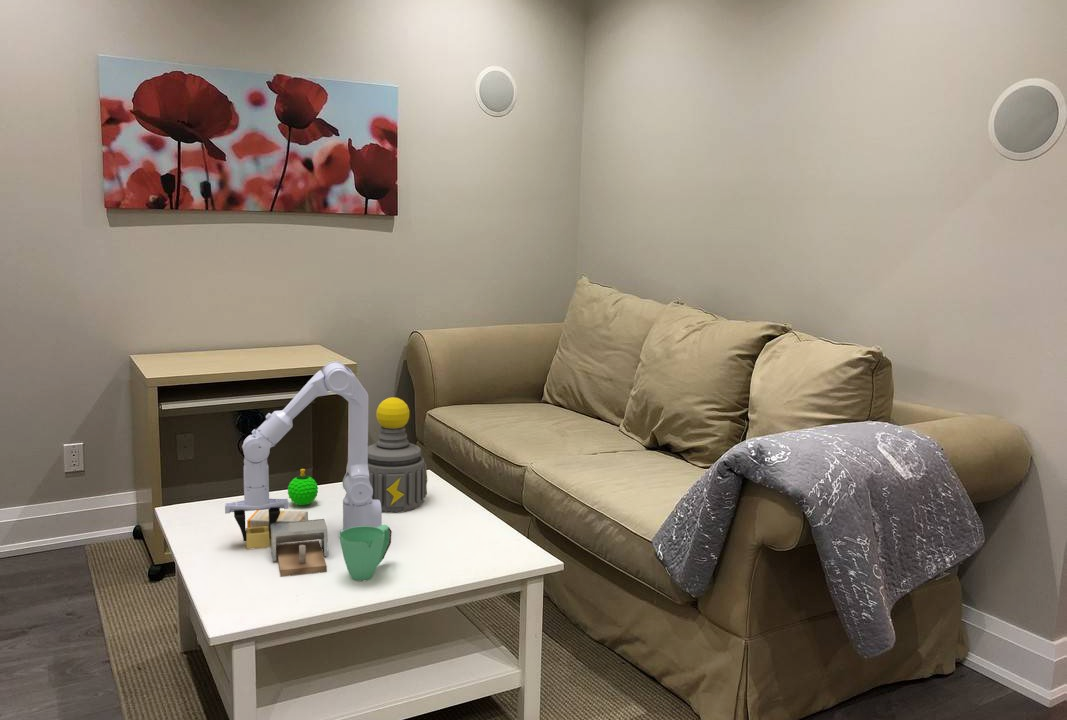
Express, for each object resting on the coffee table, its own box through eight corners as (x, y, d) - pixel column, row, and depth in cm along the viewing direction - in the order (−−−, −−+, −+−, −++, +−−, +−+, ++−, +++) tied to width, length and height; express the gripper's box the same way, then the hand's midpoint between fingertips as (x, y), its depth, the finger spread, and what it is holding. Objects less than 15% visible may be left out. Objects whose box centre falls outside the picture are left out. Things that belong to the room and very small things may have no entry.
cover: (324, 545, 214) (324, 518, 213) (327, 556, 208) (327, 528, 207) (271, 550, 210) (270, 523, 209) (272, 561, 204) (272, 533, 203)
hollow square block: (268, 539, 218) (268, 525, 217) (269, 547, 213) (269, 533, 212) (246, 541, 216) (245, 527, 215) (246, 549, 211) (246, 535, 211)
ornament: (292, 499, 248) (291, 465, 246) (321, 500, 248) (321, 465, 246) (284, 509, 240) (283, 473, 238) (314, 510, 240) (313, 474, 238)
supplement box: (246, 538, 218) (300, 540, 218) (246, 519, 217) (299, 521, 217) (257, 526, 226) (308, 528, 226) (257, 508, 225) (308, 510, 225)
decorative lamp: (360, 515, 237) (360, 405, 232) (356, 493, 255) (356, 391, 250) (430, 511, 241) (431, 404, 237) (421, 490, 259) (423, 390, 255)
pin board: (319, 546, 214) (318, 524, 214) (326, 571, 200) (326, 548, 199) (276, 550, 211) (275, 528, 210) (280, 576, 196) (280, 553, 195)
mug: (366, 589, 191) (366, 545, 190) (330, 579, 196) (330, 536, 194) (405, 566, 204) (406, 524, 202) (371, 557, 208) (371, 517, 207)
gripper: (286, 477, 218) (287, 530, 220) (224, 481, 213) (225, 535, 216) (288, 486, 212) (289, 540, 214) (224, 490, 207) (226, 546, 209)
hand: (257, 538), depth 214 cm, fingers closed on hollow square block, 5 cm apart
